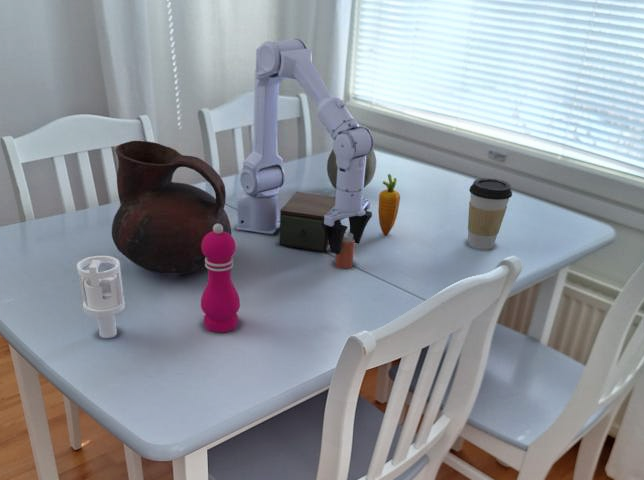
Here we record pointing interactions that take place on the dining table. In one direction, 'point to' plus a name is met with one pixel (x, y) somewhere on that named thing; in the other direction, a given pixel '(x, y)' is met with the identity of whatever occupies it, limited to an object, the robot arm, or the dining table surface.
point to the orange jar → (346, 252)
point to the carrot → (388, 206)
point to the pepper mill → (219, 282)
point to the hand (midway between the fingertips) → (345, 247)
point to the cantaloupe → (369, 168)
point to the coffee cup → (486, 211)
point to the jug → (164, 209)
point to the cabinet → (308, 210)
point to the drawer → (302, 232)
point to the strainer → (102, 292)
